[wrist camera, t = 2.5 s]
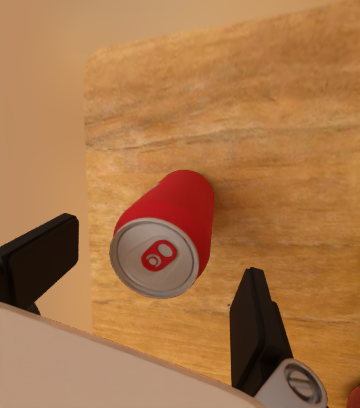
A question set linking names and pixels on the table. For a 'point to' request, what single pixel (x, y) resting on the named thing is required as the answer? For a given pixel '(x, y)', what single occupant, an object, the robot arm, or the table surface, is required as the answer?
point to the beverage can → (165, 236)
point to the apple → (354, 398)
